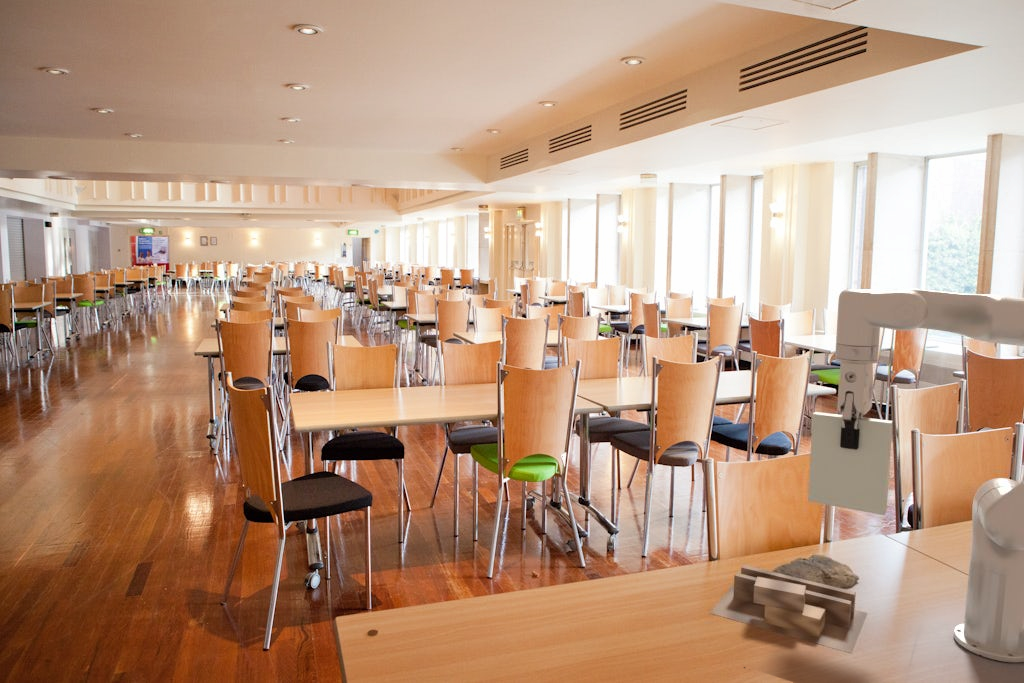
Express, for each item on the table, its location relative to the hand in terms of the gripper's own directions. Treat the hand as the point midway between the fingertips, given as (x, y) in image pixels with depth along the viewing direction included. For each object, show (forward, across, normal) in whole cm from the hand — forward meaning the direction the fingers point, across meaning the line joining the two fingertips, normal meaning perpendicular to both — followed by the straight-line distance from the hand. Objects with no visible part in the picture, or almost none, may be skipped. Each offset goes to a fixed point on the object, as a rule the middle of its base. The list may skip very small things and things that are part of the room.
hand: (850, 445), depth 146 cm
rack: (+35, -8, +8) cm, 37 cm away
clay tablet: (+36, +12, +9) cm, 38 cm away
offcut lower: (+34, -12, +6) cm, 36 cm away
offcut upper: (+30, -12, +9) cm, 34 cm away
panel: (+12, 0, 0) cm, 12 cm away
